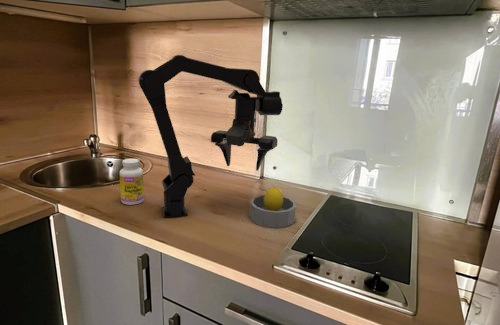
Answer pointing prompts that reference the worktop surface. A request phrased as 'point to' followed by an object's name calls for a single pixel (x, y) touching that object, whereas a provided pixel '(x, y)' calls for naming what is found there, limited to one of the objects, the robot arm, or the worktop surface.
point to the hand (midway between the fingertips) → (242, 168)
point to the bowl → (272, 213)
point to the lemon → (273, 199)
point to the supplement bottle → (131, 182)
